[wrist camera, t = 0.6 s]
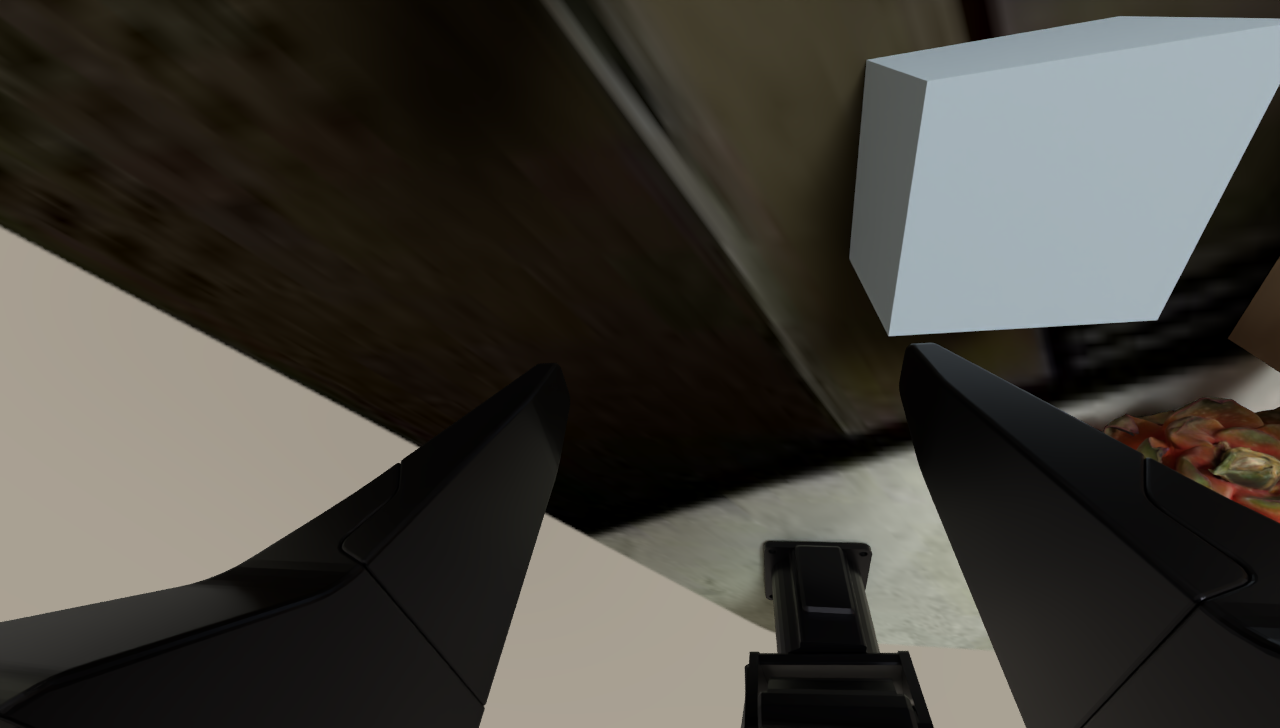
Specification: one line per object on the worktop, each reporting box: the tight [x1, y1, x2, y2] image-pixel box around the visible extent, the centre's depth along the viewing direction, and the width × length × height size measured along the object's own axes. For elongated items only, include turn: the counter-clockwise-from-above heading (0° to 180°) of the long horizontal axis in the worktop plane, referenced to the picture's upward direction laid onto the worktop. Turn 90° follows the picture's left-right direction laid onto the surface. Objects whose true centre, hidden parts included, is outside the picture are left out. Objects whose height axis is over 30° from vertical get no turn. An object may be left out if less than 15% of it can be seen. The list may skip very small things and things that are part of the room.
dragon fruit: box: [1103, 398, 1280, 523], centre depth 20 cm, size 8×8×12 cm
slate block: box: [849, 16, 1280, 336], centre depth 15 cm, size 7×7×6 cm
